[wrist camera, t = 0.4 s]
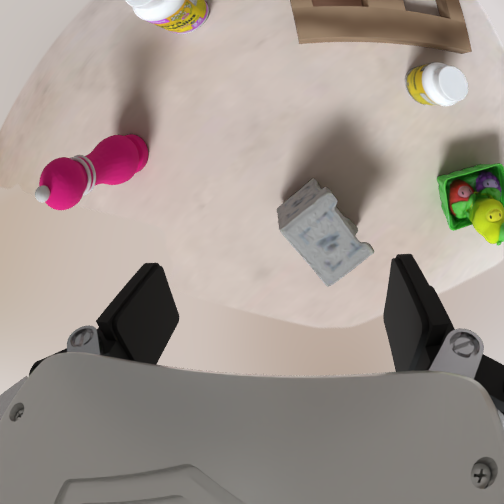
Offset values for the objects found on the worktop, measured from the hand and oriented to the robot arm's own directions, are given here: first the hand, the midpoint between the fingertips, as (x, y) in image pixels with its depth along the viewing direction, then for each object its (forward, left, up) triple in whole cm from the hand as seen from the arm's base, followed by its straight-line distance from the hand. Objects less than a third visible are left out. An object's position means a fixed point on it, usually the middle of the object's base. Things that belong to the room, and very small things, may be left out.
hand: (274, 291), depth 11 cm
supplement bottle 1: (-24, -11, -30) cm, 40 cm away
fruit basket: (+5, +26, -30) cm, 40 cm away
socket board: (-24, +15, -29) cm, 41 cm away
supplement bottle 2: (-10, +19, -30) cm, 36 cm away
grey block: (+8, +3, -30) cm, 31 cm away
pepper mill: (-5, -24, -30) cm, 39 cm away
